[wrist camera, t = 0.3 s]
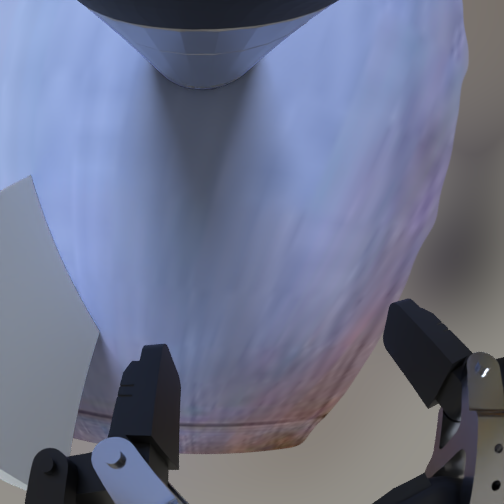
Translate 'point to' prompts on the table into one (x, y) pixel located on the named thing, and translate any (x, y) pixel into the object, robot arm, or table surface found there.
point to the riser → (37, 338)
